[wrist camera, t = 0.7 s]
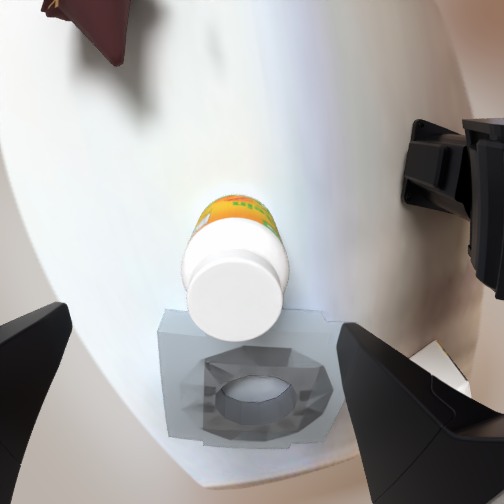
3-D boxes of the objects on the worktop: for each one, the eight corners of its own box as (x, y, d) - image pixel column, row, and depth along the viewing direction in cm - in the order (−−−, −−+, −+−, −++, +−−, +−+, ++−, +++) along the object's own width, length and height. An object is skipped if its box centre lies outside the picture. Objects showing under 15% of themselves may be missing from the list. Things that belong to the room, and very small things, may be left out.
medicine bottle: (447, 370, 29) (494, 441, 17) (398, 403, 30) (434, 481, 19) (435, 337, 26) (495, 418, 15) (379, 376, 28) (422, 468, 17)
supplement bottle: (290, 219, 21) (327, 286, 12) (247, 278, 23) (252, 370, 14) (224, 177, 20) (211, 214, 11) (183, 241, 21) (148, 318, 12)
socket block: (360, 312, 24) (372, 333, 22) (315, 426, 30) (320, 446, 27) (165, 298, 23) (156, 320, 20) (173, 420, 29) (169, 441, 26)
